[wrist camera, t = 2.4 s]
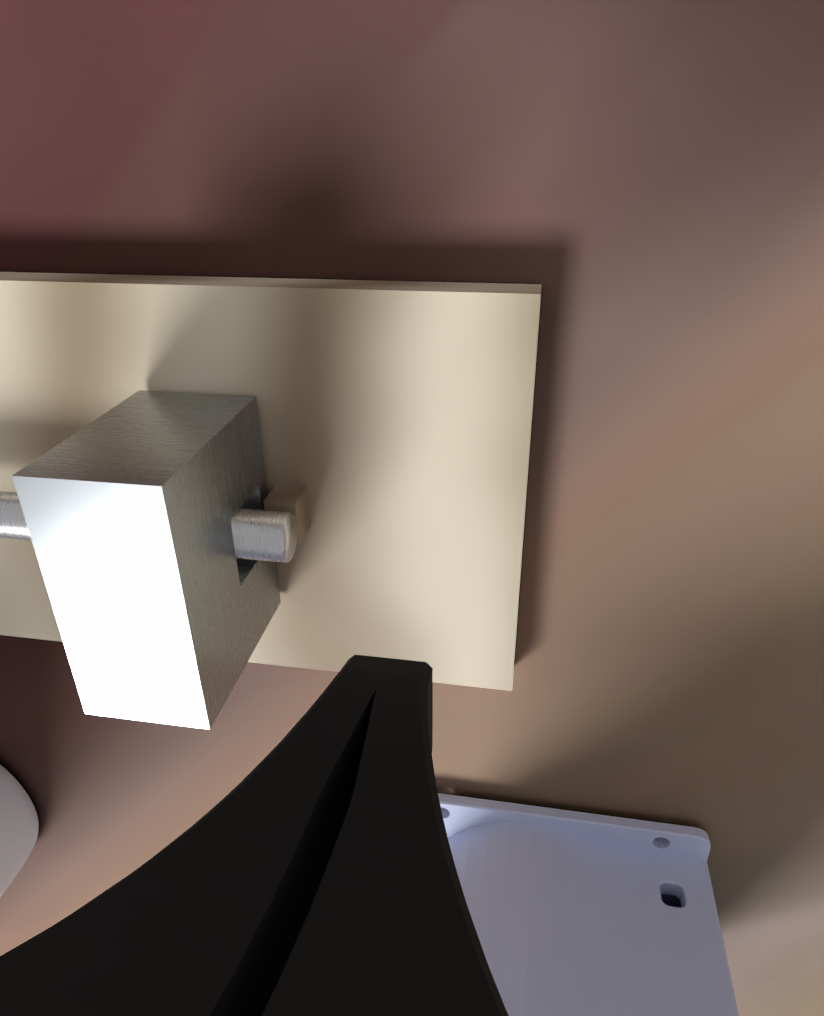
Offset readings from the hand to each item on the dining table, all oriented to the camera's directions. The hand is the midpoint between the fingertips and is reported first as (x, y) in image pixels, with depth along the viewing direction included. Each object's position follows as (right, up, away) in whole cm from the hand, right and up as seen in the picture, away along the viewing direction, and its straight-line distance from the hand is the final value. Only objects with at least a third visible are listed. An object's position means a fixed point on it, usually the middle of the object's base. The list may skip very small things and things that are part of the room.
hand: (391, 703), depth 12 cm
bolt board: (-8, +4, +8) cm, 12 cm away
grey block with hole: (-5, +3, +7) cm, 9 cm away
